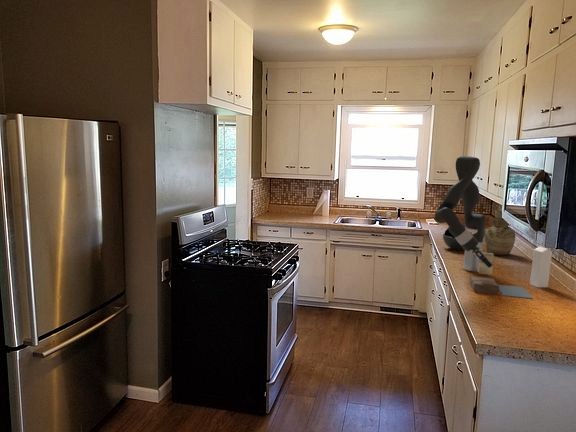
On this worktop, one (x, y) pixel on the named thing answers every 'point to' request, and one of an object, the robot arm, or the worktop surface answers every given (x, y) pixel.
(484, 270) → the birch block
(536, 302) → the worktop surface
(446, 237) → the coal bowl
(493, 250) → the ceramic vessel
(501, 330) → the worktop surface
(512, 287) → the rubber mat
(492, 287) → the plate
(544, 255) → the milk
